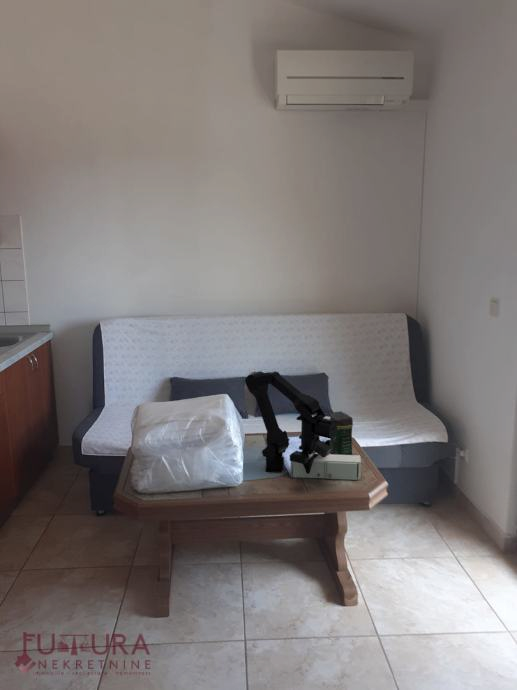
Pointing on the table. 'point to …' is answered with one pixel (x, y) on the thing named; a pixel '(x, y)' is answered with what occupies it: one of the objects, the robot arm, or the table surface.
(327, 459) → the cabinet
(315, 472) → the door
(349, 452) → the coffee jar
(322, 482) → the table surface
